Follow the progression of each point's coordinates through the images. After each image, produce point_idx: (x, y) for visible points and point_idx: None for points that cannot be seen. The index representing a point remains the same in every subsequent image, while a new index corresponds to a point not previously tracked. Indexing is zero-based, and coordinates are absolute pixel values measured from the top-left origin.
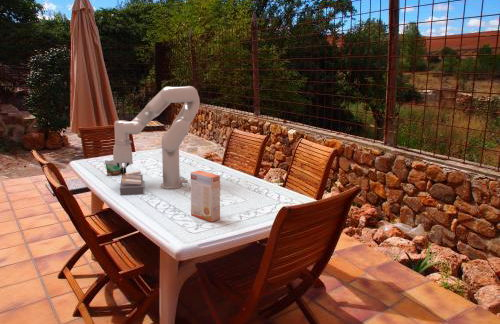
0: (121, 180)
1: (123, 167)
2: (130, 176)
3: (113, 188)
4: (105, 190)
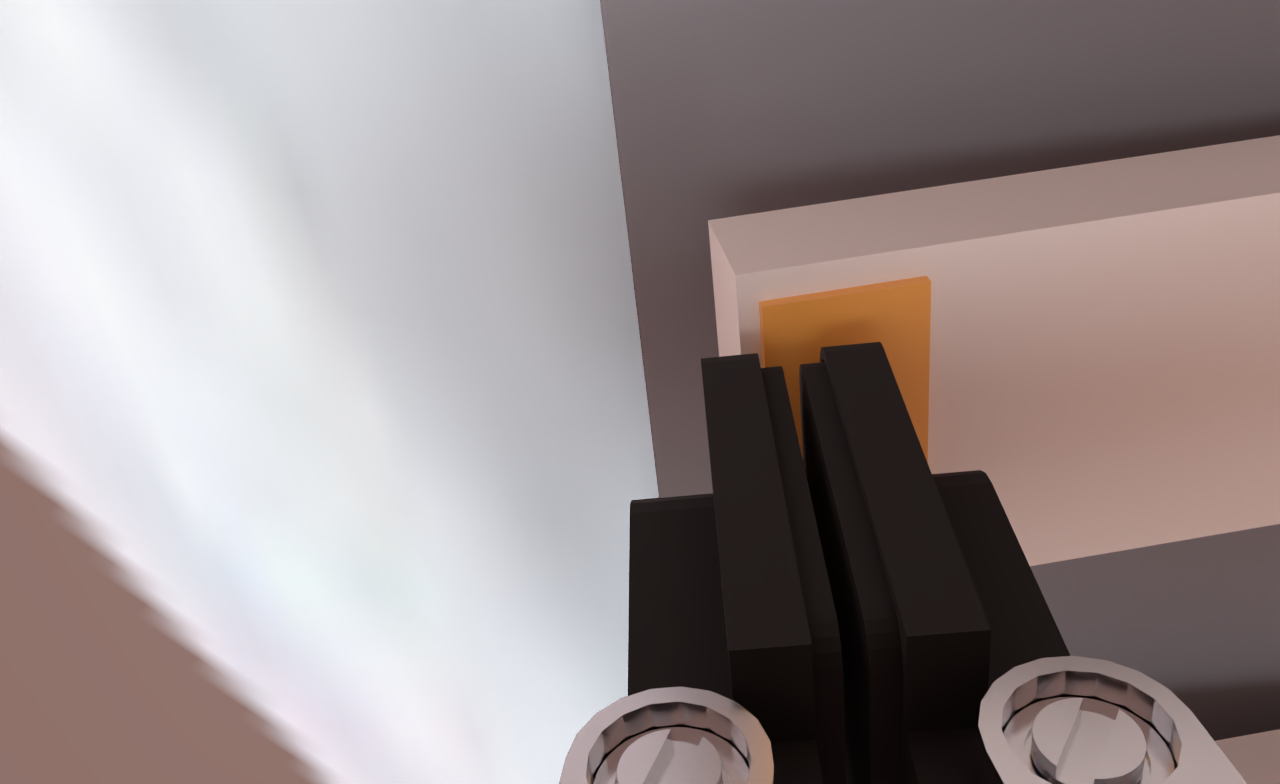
0: (637, 171)
1: (873, 685)
2: (1144, 460)
3: (363, 205)
4: (171, 403)
